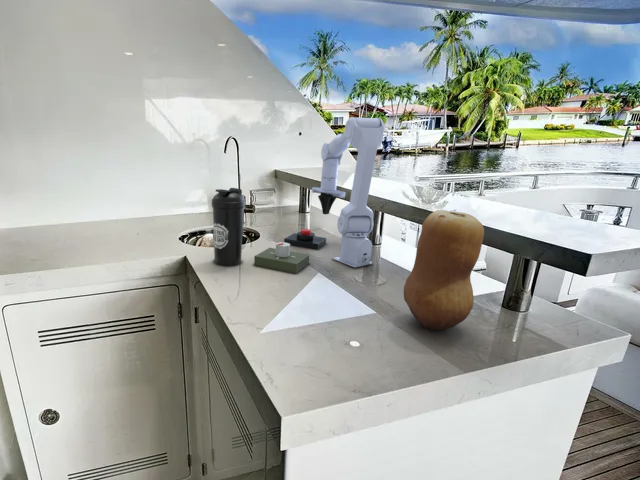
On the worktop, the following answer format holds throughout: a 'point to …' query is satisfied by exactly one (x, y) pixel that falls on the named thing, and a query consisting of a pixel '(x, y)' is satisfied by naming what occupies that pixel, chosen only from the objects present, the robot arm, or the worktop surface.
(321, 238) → the button housing
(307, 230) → the button
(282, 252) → the knob
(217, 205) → the water bottle
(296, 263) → the dial panel
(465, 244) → the butternut squash
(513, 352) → the worktop surface
